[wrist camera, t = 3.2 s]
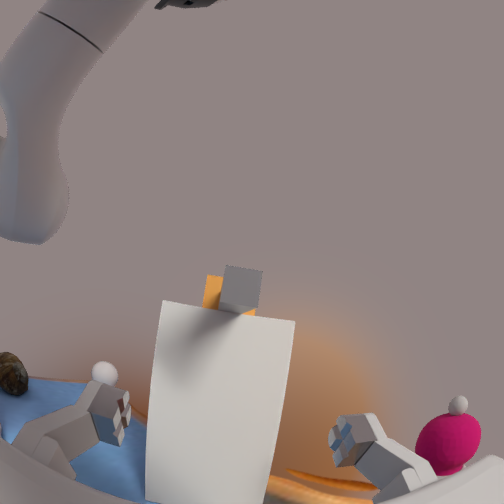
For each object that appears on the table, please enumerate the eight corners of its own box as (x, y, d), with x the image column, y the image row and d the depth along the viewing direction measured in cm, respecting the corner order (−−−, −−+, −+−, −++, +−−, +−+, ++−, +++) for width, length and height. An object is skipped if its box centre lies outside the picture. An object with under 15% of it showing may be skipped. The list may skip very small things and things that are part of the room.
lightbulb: (84, 403, 44) (87, 358, 48) (99, 399, 51) (103, 357, 54) (105, 413, 44) (109, 367, 47) (120, 408, 50) (124, 365, 53)
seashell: (20, 403, 30) (20, 366, 32) (-15, 387, 26) (-16, 349, 29) (37, 389, 40) (38, 357, 42) (5, 376, 36) (6, 344, 39)
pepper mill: (348, 551, 12) (405, 394, 18) (404, 536, 12) (459, 386, 18) (370, 588, 5) (460, 410, 11) (432, 564, 5) (512, 393, 11)
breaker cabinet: (145, 499, 20) (162, 300, 27) (161, 459, 32) (178, 307, 39) (259, 514, 21) (295, 321, 28) (247, 470, 33) (271, 322, 41)
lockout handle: (191, 297, 17) (203, 236, 18) (204, 311, 38) (209, 284, 39) (284, 311, 17) (291, 252, 18) (246, 318, 38) (250, 291, 40)
